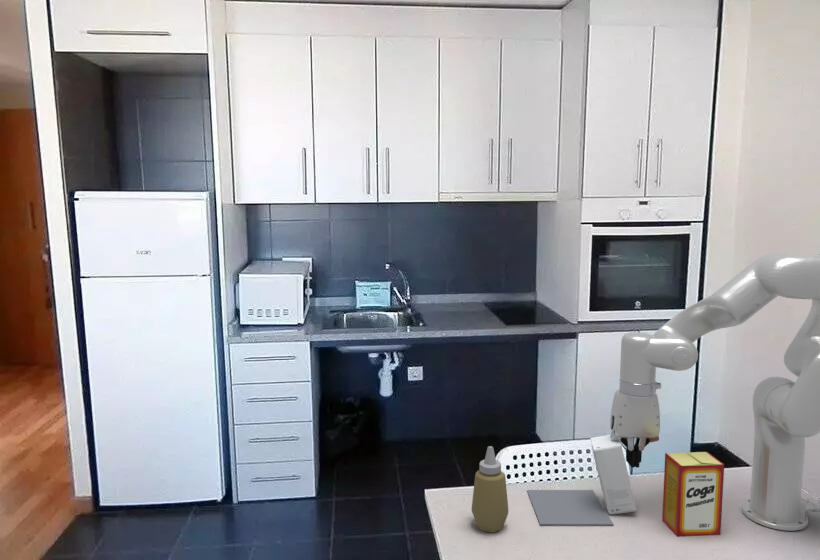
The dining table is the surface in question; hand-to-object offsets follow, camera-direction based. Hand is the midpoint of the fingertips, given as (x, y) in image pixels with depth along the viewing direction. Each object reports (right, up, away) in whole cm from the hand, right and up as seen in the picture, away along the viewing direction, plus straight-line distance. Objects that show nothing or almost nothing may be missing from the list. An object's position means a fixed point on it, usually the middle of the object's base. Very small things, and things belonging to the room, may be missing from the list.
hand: (633, 464), depth 137 cm
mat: (-15, -10, +1) cm, 18 cm away
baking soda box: (+10, -12, -7) cm, 17 cm away
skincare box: (-3, -10, +1) cm, 10 cm away
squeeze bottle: (-34, -12, -6) cm, 36 cm away
